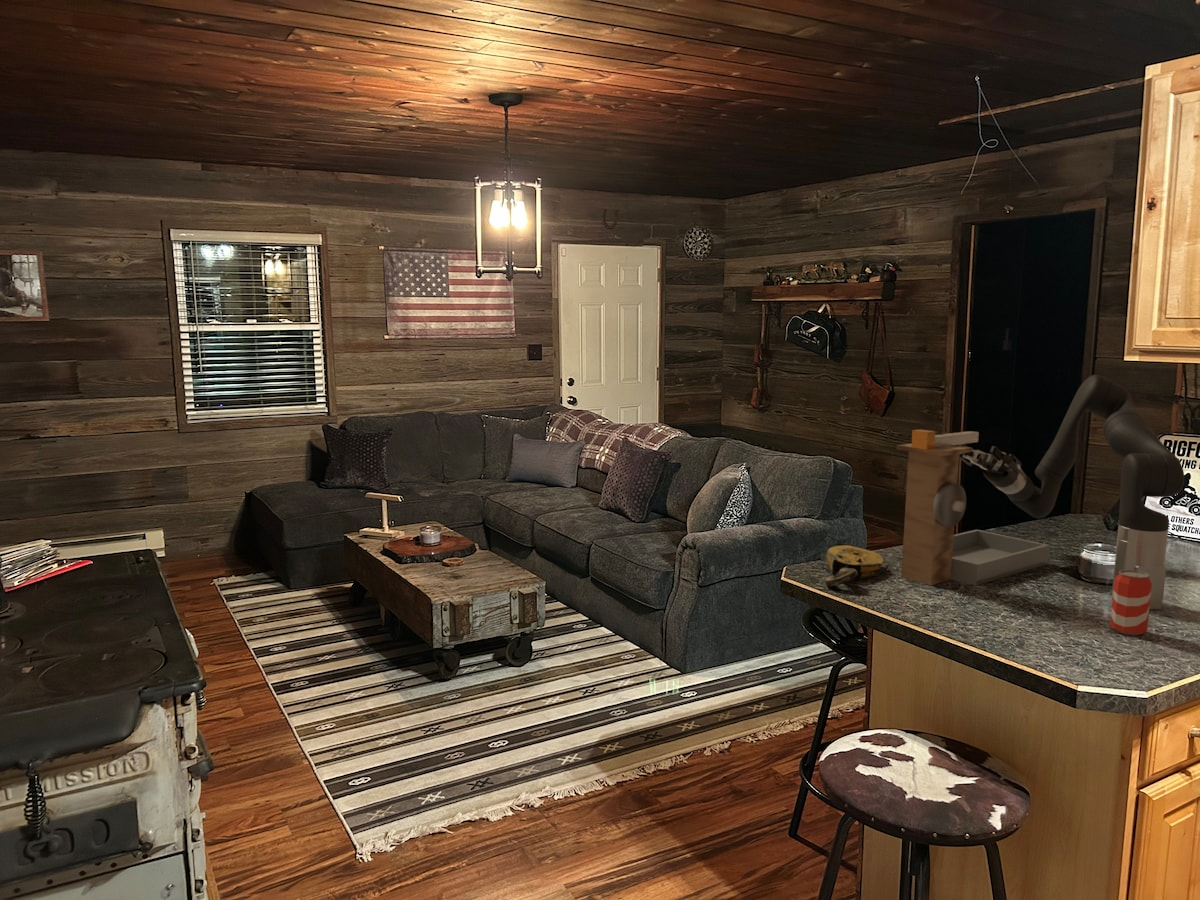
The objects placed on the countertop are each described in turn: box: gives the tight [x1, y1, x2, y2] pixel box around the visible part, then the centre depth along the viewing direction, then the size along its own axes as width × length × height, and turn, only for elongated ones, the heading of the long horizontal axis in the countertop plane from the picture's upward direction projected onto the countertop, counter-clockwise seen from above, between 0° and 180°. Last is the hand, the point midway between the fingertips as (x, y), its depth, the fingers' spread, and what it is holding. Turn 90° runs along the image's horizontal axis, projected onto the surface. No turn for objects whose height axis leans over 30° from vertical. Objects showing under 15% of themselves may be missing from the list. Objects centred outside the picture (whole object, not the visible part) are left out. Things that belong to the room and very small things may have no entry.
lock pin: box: [911, 429, 980, 450], centre depth 209 cm, size 22×4×4 cm, turn 125°
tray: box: [951, 529, 1050, 586], centre depth 223 cm, size 32×20×5 cm, turn 125°
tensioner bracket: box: [896, 442, 974, 586], centre depth 208 cm, size 12×14×32 cm
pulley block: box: [823, 543, 886, 588], centre depth 213 cm, size 14×6×30 cm
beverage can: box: [1109, 570, 1152, 636], centre depth 175 cm, size 6×6×12 cm
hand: (975, 447), depth 216 cm, fingers open, 8 cm apart
